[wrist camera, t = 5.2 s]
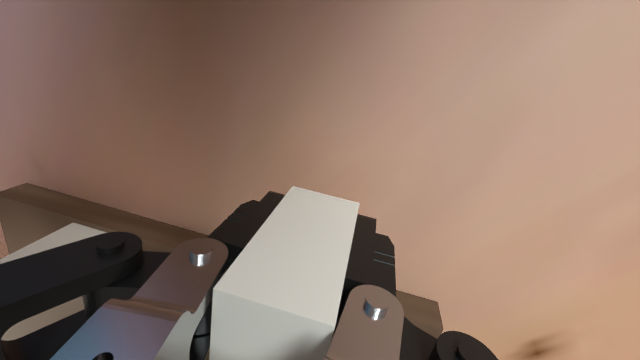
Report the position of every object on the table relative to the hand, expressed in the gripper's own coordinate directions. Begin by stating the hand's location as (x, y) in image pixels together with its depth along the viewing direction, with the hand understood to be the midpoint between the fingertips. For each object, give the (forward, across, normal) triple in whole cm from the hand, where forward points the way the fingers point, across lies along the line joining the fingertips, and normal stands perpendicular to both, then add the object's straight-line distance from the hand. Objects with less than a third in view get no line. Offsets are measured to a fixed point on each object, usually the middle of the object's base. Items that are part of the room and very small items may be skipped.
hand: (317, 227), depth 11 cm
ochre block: (0, 0, +6) cm, 6 cm away
